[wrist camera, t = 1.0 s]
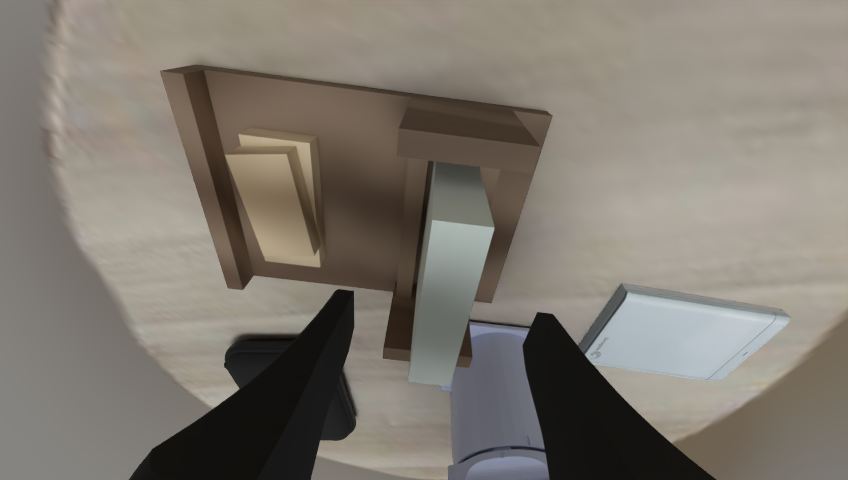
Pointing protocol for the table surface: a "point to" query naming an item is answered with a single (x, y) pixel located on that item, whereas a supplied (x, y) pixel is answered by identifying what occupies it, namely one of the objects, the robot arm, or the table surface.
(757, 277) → the table surface
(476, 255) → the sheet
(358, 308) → the table surface
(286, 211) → the offcut stack
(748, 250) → the table surface
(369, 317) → the table surface
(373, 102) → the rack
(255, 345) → the carrying case or bag
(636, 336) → the hard drive
